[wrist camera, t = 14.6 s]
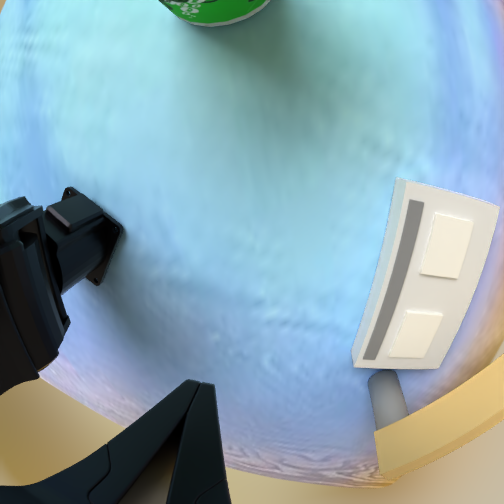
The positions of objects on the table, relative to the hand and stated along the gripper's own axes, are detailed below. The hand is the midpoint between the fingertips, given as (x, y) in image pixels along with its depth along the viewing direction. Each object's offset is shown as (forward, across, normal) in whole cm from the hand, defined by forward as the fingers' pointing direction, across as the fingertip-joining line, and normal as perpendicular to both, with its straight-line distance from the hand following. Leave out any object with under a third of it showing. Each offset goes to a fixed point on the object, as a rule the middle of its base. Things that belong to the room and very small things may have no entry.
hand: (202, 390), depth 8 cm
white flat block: (+13, -13, +1) cm, 18 cm away
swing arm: (+12, -18, +6) cm, 23 cm away
